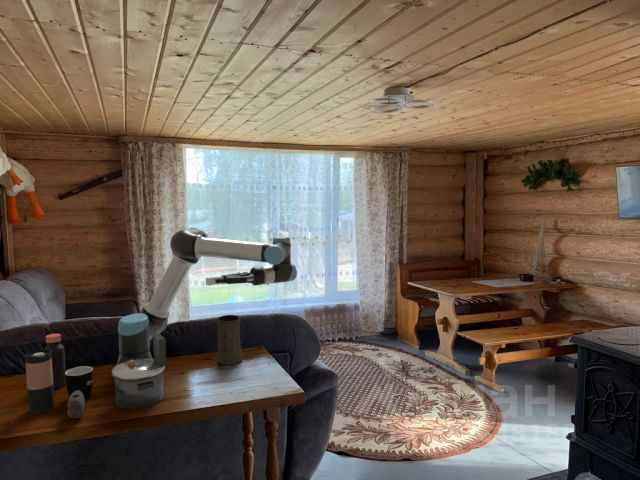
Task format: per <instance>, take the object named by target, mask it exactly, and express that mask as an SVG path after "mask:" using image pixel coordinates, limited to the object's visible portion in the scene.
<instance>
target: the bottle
mask: <svg viewBox="0 0 640 480" xmlns="http://www.w3.org/2000/svg"><path fill="white" fill-rule="evenodd" d="M45 342H46V346H45V348H44V349H48V350H51V357H52V372H53V390H56V389H55V388H57V389H60V388H59V387H61V388H63V387H64V386H66V381H65V372H66V357H65V346H64V345H63V344H61V342H62V335H61V334H60V333H51V334H47V335H46V336H45ZM62 386H63V387H62Z"/></svg>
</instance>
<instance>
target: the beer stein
mask: <svg viewBox="0 0 640 480" xmlns="http://www.w3.org/2000/svg"><path fill="white" fill-rule="evenodd" d="M216 324H217V355H218V357H217V361H218V363H219V364H221V365H226V366H228V365H236V364H239V363H240V362H241V361H242V360H243V355H242V354H243V351H242V346H241V331H240V330H241V327H240V324H241V318H240V316H239V315H235V314H226V315H221V316H219V317H218V318H217V322H216Z"/></svg>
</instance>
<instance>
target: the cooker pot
mask: <svg viewBox="0 0 640 480" xmlns="http://www.w3.org/2000/svg"><path fill="white" fill-rule="evenodd" d="M163 371H164V370H163ZM163 371H162V372H161V373H159V374H157V375H155V376H152V377H149V378H145V379H139V380H119V379H116V378H114V390H115V391H114V392H115V393H114V395H115V405H116V406H117V407H119V408H121V409H126V410H135V409H143V408H146V407H150V406H152V405H155V404H157V403H158V402H160V401H162V399H163V398H164V374H163V373H164V372H163Z"/></svg>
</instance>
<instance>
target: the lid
mask: <svg viewBox="0 0 640 480" xmlns="http://www.w3.org/2000/svg"><path fill="white" fill-rule="evenodd" d="M166 343H167V341H166V338H165V337H164V336H163V335H162V333H159V334H153V338H152V344H153V345H152V346H153V347H152V348H153V351H152V352H153V353H152V354H153V358H152V359H137V360H128V361H127V362H124V363H121V364H119V365H117V364H116V365H115V366H114V367H113V368H112V370H111V376H112V377H113V378H114V379H115V378H116V379H119V380H139V379H145V378H149V377H152V376H155V375H157V374H159V373H161V372H162V371H165V368H166V366H167V350H166V349H167V347H166V346H167V345H166Z"/></svg>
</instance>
